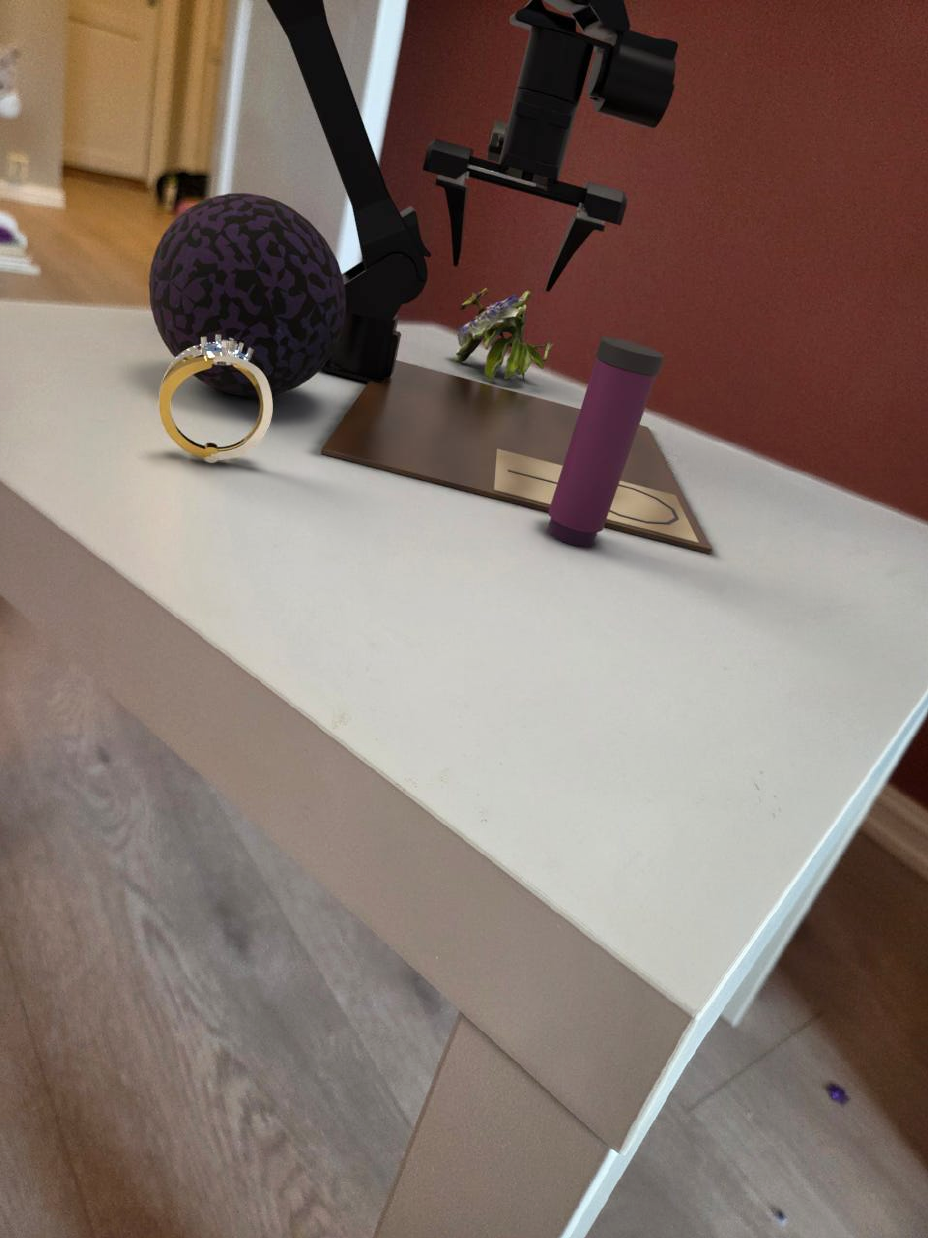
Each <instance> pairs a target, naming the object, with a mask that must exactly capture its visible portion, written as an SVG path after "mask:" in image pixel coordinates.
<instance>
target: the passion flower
mask: <svg viewBox="0 0 928 1238" xmlns="http://www.w3.org/2000/svg"><path fill="white" fill-rule="evenodd" d="M489 292H490V291H489V289H488V288H487V287H485V288H484V289H483V290H480V291H477V292H473V293H471V295H470V296H469V297H468V298H466V299H465V300H464V301H463V302H462V303H461V304H460V306H459V308H458V310H459V311H464V310H466V309H467V308H468V307H470V306H472V305H473V306H474V305H475V306H477V308H478V313H477V315H475V317H474V319H472V320H470V321H468V322H467V323H466V324H463V325H461V327H460V328H459V329H458V333H457V335H456V336H457V341H458V345H459V347H460V348H459V349H458V350H457V351H456V352H455V355H456V356H455V358H454V359H455V361H456V362H457V363H463V362H466V361H467V360H468V358H469V357H470V356H471V354H473V353H474V352H475V351H476V350H477V348H478V347H479V346H480V345H481V343H482V341H483V339H484V341H483V346H484V349H485V351H487V350H489V351H488V353H487V355H486V360H485V365H484V377H486V379H487V380H489V383H493V382H494V379H495V375H496V373H497V372H498V371H499V369H500V368H501V366H502V364H503V363H504V360H505V356H506V353H507V351H508V349H509V347H510V352H509V357H507V358H506V365H505V371H504V379H506V380H507V379H509V378H512V377H514V376H515V375H517V376H522V381H525V372H527V371H528V370H529V368H530V366H531V363H532V362H533V363H534V364H535V365H536V366H537V367H538V368H539V369H540V370H543V369H544V367H545V366H544V362H546V361H547V360H548V357H549V354H550V351H551V348H552V346H553V345H554V343H553V342H545V343H544V344H541V345H536V346H534V345H532V344H530V343H529V342H525V341H524V340H525V339H524V338H525V327H526V323H527V321H526V320H527V313H526V310H527V305H526V303H527V302H528V301H529V299H530V297H531V295H532V292H531V290H530V291H529V290H527V291H524V293H523V294H522V295H521V296H520V297H518V298H517V294H512V295H510V296H509V297H508V298H507V297H506V298H505V299H504V300H500V301H496V302H495V303H493V304H492V303H489V306H487V307H483V305H482V303H481V298H483V297H485V296H486V295H488V294H489ZM504 333H509V334H510V335H509V336H508V337H507V338H506V337H505V336H504ZM497 336H500V337H498V338H497ZM490 346H491V348H490V349H489V347H490ZM538 348H540V349H541V348H543V349H544V348H545V350H544V352H543V357H541V354H540V352H539V350H538Z"/></svg>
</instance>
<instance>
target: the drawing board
mask: <svg viewBox="0 0 928 1238" xmlns="http://www.w3.org/2000/svg"><path fill="white" fill-rule="evenodd" d="M580 409H581V408H579V407H575V406H570V405H566V404H563V403H559V402H555V401H552V400H548V399H544V398H541V397H538V396H537V397H536V396H532V395H529V394H525V393H521V392H518V391H514V390H510V389H506V388H502V387H499V386H495V385H492V384H488V383H484V382H480V381H477V380H473V379H469V378H465V377H461V376H458V375H454V374H451V373H447V372H443V371H439V370H435V369H432V368H428V367H424V366H420V365H416V364H413V363H409V362H405V361H402V360H401V361H400V360H397V359H396V362H395V367H394V372H393V373H392V375H391V377H389V378H386V379H385V380H384V382H383V383H377V382H373V381H369V382H367V383H366V385H365V387H364V388H363V389H362V391H361V392H360V394H359V395H358V397H357V398H356V399H355V401H354V402H353V403H352V405H351V406H350V408H348V411H347V412H346V413H345V415H344V416H343V417H342V418H341V420H340V422H339V423H338V425H337V426H336V428H335V429H334V430H333V432H332V433H331V435H330V436H329V438H328V439H327V440H326V442H325V444H324V445H323V446H322V448H321V449H320V454H322V455H325V456H330V457H333V458H337V459H341V460H344V461H349V462H351V463H355V464H360V465H364V466H368V467H371V468H376V469H379V470H383V471H386V472H391V473H395V474H398V475H403V476H406V477H411V478H413V479H414V478H415V479H419V480H423V481H425V482H430V483H434V484H438V485H442V486H445V487H449V488H453V489H457V490H461V491H465V492H468V493H472V494H476V495H479V496H484V497H488V498H493V499H495V500H499V501H504V502H507V503H511V504H515V505H519V506H523V507H527V508H531V509H535V510H539V511H543V512H546V513H548V512H549V508H550V505H551V502H552V499H553V496H554V492H555V489H556V486H557V483H558V480H559V476H560V473H561V470H562V467H563V464H564V460H565V457H566V454H567V451H568V448H569V444H570V441H571V438H572V435H573V432H574V428H575V425H576V422H577V419H578V416H579V412H580ZM654 437H655V436H653V434H652V432H651V430H650V428H649V426H645V425H641V424H639V427H638V430H637V432H636V435H635V438H634V441H633V444H632V447H631V450H630V453H629V456H628V458H627V461H626V464H625V467H624V470H623V473H622V476H621V479H620V482H619V484H618V487H617V490H616V493H615V496H614V499H613V502H612V505H611V508H610V510H609V513H608V516H607V519H606V522H605V525H604V528H609V529H612V530H616V531H619V532H624V533H628V534H631V535H635V536H639V537H642V538H648V539H651V540H655V541H658V542H663V543H666V544H671V545H674V546H678V547H682V548H686V549H690V550H693V551H698V552H701V553H705V554H708V555H710V554H712V550H713V547H712V546H711V545H710V543H709V541H708V539H707V537H706V535H705V533H704V531H703V529H702V527H701V525H700V523H699V522H698V520H697V518H696V516H695V514H694V512H693V510H692V508H691V506H690V505H689V502H688V501H687V498H686V497H685V495H684V493H683V491H682V490H681V487H680V485H679V483H678V481H677V480H676V478H675V476H674V474H673V472H672V470H671V468H670V466H669V464H668V462H667V461H666V459H665V456H664V455H663V453H662V451H661V449H660V446H658V445H659V444H658V443H657V441H656V439H655V438H654Z"/></svg>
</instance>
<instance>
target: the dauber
mask: <svg viewBox="0 0 928 1238" xmlns="http://www.w3.org/2000/svg"><path fill="white" fill-rule="evenodd" d="M595 357H596V358H595V362H594V365H593V368H592V371H591V374H590V376H589V377H590V378H589V382H588V384H587V388H586V390H585V393H584V397H583V400H582V404H581V407H580V408H579V409H580V412H579V416H578V419H577V422H576V425H575V428H574V432H573V435H572V438H571V441H570V444H569V448H568V451H567V454H566V457H565V460H564V464H563V467H562V470H561V473H560V476H559V480H558V483H557V486H556V489H555V492H554V496H553V499H552V502H551V505H550V508H549V512H547V514H548V516H549V517H550V520H549V522H548V526H547V532H548V534H549V535H551V536H552V538H554V539H556V540H558V541H560V542H563V543H564V544H568V545H571V546H575V547H591V546H593V545H594V543H595V540H596V537H597V535H598V533H600V532H602V531H603V530H604V528H605V527H604V525H605V522H606V519H607V516H608V513H609V510H610V508H611V505H612V502H613V499H614V496H615V493H616V490H617V487H618V484H619V482H620V479H621V476H622V473H623V470H624V467H625V464H626V461H627V458H628V456H629V453H630V450H631V447H632V444H633V441H634V438H635V435H636V432H637V430H638V427H639V425H641V421H642V419H643V416H644V413H645V410H646V406H647V403H648V400H649V398H650V395H651V391H652V389H653V386H654V383H655V380H656V378H657V376H658V375H659V374H660V371H661V367H662V365H663V362H664V359H665V355H664V354H663V353H661V352H660V351H658V350H656V349H653V348H651V347H649V346H645V345H643V344H640V343H636V342H634V341H631V340H627V339H622V338H617V337H612V336H602V337H601V338H600V340H599V343H598V347H597V350H596V353H595Z"/></svg>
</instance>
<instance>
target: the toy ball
mask: <svg viewBox="0 0 928 1238" xmlns="http://www.w3.org/2000/svg"><path fill="white" fill-rule="evenodd" d="M342 274H343V273H342V270H341V266H340V264H339V261H338V259H337V257H336V255H335V253H334V251H333V250H332V248H331V247H330V245H329V243H328V242H327V240H326V239H325V237H324V236H323V235H322V234H321V233H320V231H319V230H318V229H317V228H316V226H315V225H313V223H312V222H311V221H310V220H309V219H308V218H306V217H304V216H303V215H301V213H299V212H298V211H297V210H295V209H294V208H293V207H290V206H289V205H287V204H285V203H283V202H281V201H279V200H277V199H274V198H270V197H268V196H265V195H261V194H260V195H258V194H254V193H247V192H235V193H225V194H220V195H215V196H212V197H210V198H206V199H203V200H202V201H199V202H198V203H196V204H194V205H192V206H191V207H188V208H187V209H186V210H185V211H183V212H182V213H181V214H180V215H179V216H178V217H176V218H175V220H174V221H173V222H172V223H171V225H169V227H168V228H166V230H165V231H164V233H163V234H162V236H161V238H160V240H159V241H158V244H157V246H156V249H155V251H154V254H153V256H152V261H151V264H150V271H149V277H148V278H149V280H148V290H149V303H150V304H149V305H150V310H151V313H152V316H153V320H154V324H155V326H156V328H157V332H158V334H159V335H160V338H161V340H162V341H163V343H164V344H165V346H166V347H167V349H168V350H169V353H170V354H171V355H172V356H173V358H174V359H175V358H176V357H177V356H178V355H179V354H180V353H181V352H183V351H184V350H186V349H188V348H190V347H193V346H195V345H198V344H201V337H207V342H215V337H216V333H217V334H221V335H222V337H221V341H222V340H229V339H230V337H231V338H234V340H235V341H237V344H238V346H239V343H240V342H243V343H244V346H243V349H242V353H245V354H247V351H248V349H249V347H251V348H253V349H254V351H253V354H252V356H251V358H250V361H252V362H253V363H254V364H256V365H257V366H258V367H259V368H260V369H261V371H262V372H263V373H264V375H265V377H266V379H267V381H268V384H269V387H270V390H271V395H272V396H276V395H280V394H283V393H286V392H290V391H292V390H294V389H296V388H298V387H299V386H301V385H303V384H305V383H306V382H308V381H309V380H311V379H312V378H313V377H314V376H315V375H317V374H318V373H319V372H320V371H321V370H320V369H321V368H322V367H323V366H324V365H325V363H326V362H327V361H328V360H329V358H330V357H331V355H332V353H333V352H334V350H335V348H336V346H337V344H338V342H339V339H340V336H341V333H342V329H343V324H344V319H345V312H346V295H345V287H344V282H343V276H342ZM238 346H237V349H238ZM198 357H204V355H199V356H197V357H195V358H198ZM193 359H194V358H193ZM192 376H194V377H195V378H196V379H197V380H199V381H200V382H202V383H204V384H205V385H208V386H209V387H211V388H213V389H215V390H218V391H221V392H224V393H227V394H230V395H234V396H240V397H249V398H259V395H258V392H257V390H256V388H255V386H254V385H253V383H252V382H251V381H250V379H249V378H248V377H247V376H246V375H245V374H244V373H242V372H241V371H240V370H238V369H237V368H235V367H234V366H233V365H232V364H231V365H215V364H212V367H211V368H209V369H206V370H202V371H200V372H197V373H195V374H193V375H192Z"/></svg>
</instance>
